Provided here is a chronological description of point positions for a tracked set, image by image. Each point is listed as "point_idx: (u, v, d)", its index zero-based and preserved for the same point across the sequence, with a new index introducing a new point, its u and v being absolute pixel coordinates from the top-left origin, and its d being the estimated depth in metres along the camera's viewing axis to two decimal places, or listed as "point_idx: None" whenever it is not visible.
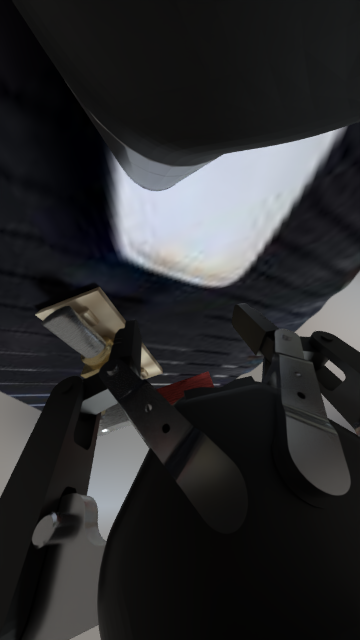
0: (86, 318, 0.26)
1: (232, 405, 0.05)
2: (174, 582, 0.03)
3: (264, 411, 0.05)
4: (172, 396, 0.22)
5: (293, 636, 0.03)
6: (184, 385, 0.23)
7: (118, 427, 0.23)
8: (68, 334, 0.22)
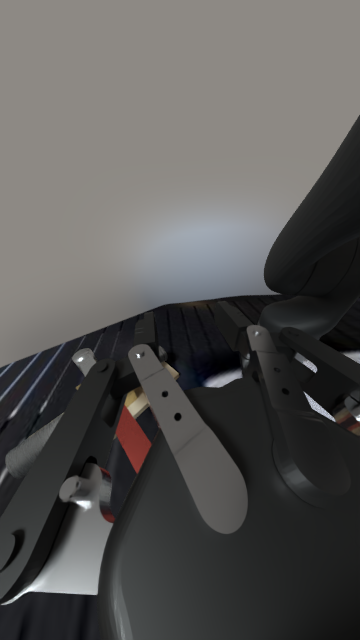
0: None
1: (232, 405, 0.05)
2: (174, 582, 0.03)
3: (264, 411, 0.05)
4: None
5: (293, 636, 0.03)
6: None
7: (86, 365, 0.22)
8: None
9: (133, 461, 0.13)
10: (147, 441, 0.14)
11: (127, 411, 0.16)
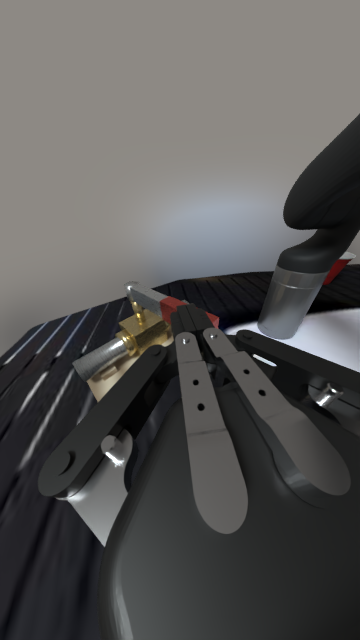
0: None
1: (232, 405, 0.05)
2: (174, 582, 0.03)
3: None
4: None
5: (293, 636, 0.03)
6: None
7: (137, 288, 0.26)
8: None
9: None
10: (206, 312, 0.18)
11: (184, 303, 0.21)
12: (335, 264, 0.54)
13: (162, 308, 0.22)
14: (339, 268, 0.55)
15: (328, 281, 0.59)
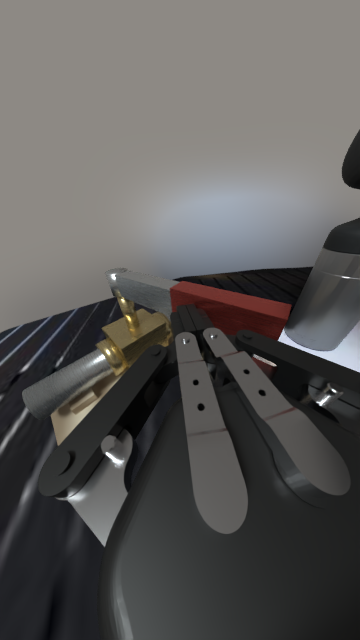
0: None
1: (232, 405, 0.05)
2: (174, 582, 0.03)
3: None
4: None
5: (293, 636, 0.03)
6: None
7: (128, 275, 0.17)
8: None
9: (259, 311, 0.09)
10: (261, 299, 0.10)
11: (213, 288, 0.12)
12: None
13: (174, 300, 0.13)
14: None
15: None
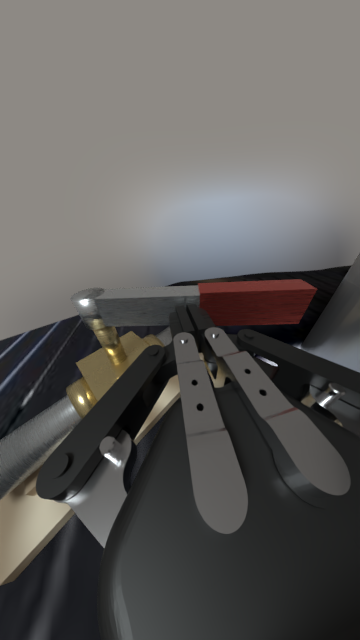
0: None
1: (232, 405, 0.05)
2: (174, 582, 0.03)
3: None
4: None
5: (293, 636, 0.03)
6: None
7: (117, 294, 0.13)
8: None
9: (295, 288, 0.11)
10: (280, 280, 0.13)
11: (236, 282, 0.13)
12: None
13: (205, 305, 0.12)
14: None
15: None
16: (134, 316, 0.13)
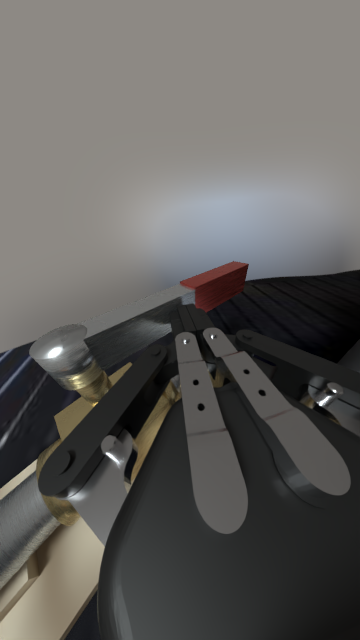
0: None
1: (232, 405, 0.05)
2: (174, 582, 0.03)
3: None
4: None
5: (293, 636, 0.03)
6: None
7: (111, 320, 0.10)
8: None
9: (240, 266, 0.16)
10: (226, 264, 0.17)
11: (204, 273, 0.15)
12: None
13: (198, 297, 0.13)
14: None
15: None
16: (139, 337, 0.11)
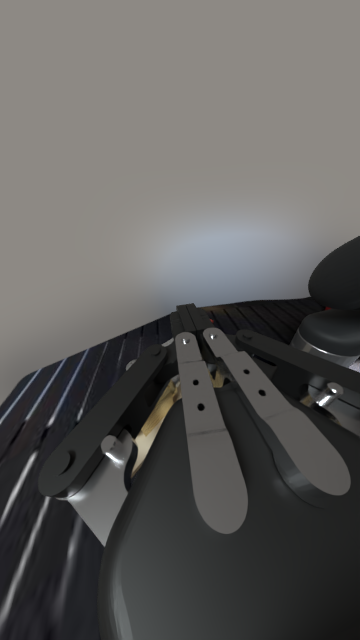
0: None
1: (232, 405, 0.05)
2: (174, 582, 0.03)
3: None
4: None
5: (293, 636, 0.03)
6: None
7: None
8: None
9: None
10: None
11: None
12: None
13: None
14: None
15: None
16: None
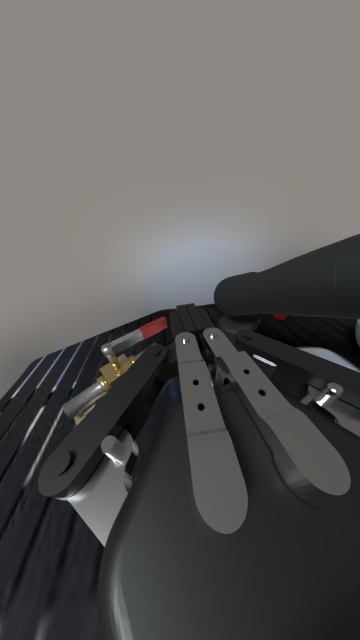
0: None
1: (232, 405, 0.05)
2: (174, 582, 0.03)
3: None
4: None
5: (293, 636, 0.03)
6: None
7: (117, 342, 0.40)
8: None
9: (162, 320, 0.47)
10: None
11: (148, 323, 0.46)
12: None
13: (143, 333, 0.44)
14: None
15: (284, 317, 0.70)
16: (124, 346, 0.41)
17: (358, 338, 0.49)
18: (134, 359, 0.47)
